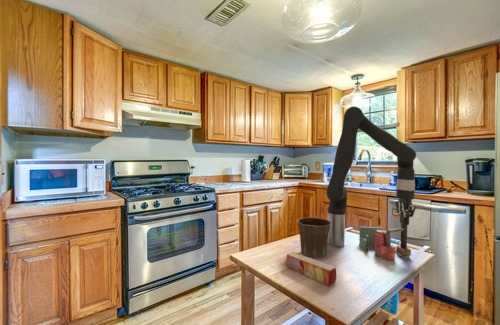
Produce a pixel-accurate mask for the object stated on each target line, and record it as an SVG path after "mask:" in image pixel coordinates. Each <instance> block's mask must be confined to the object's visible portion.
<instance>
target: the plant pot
mask: <svg viewBox="0 0 500 325" xmlns="http://www.w3.org/2000/svg"><path fill="white" fill-rule="evenodd" d="M296 221H297V225H298V230H299V242H300V243H299V244H300V251H301V255H303V256H305V257H308V258H311V259H313V258H316V259H321V258H324V257H326V256H327V252H328V244H327V242H328V233H329V229H330V225H331V222H330V221H328V220H327V219H323V218H320V217H319V218H318V217H301V218H298V219H297V220H296Z"/></svg>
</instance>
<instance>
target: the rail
mask: <svg viewBox="0 0 500 325" xmlns="http://www.w3.org/2000/svg"><path fill="white" fill-rule="evenodd" d="M391 246H394V247H395V254H397V255H398V256H399V257H401V258H402V259H410V258H411V257H410V256H403V255H401V254H399V253H398V252H397V251H396V248H397V246H396V245H394V244H391Z"/></svg>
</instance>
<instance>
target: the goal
mask: <svg viewBox="0 0 500 325" xmlns="http://www.w3.org/2000/svg"><path fill="white" fill-rule="evenodd" d="M378 229H381V230H384V228H383V227H379V226H378V227H374V226H359V236H358V238H359V239H358V240H359V241H358V242H359V243H358V244H359V246H360V247H362V249H363V250H364V251H366V252H369V247H371V246H372V247H374V240H375V233H376V230H378Z"/></svg>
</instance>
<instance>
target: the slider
mask: <svg viewBox="0 0 500 325" xmlns="http://www.w3.org/2000/svg"><path fill="white" fill-rule="evenodd" d="M406 213H407V212H406ZM403 222H404V212H403V211H402V213H401V223H400V227H397V228H396V227H395V228H391V229H386V230H387V231H386V245H380V256H379V259H381V260H385V261H386V260H388V261H395V260H396V253H395V247H397V248H396V251H397V252H398V253H399V254H401V255H403V256H411V257H412V253H411V252H412V250H411V249H410V248H409V247H408V225H404V224H403ZM396 232H400V245H399V244H398V245H396V246H395V245H394V246H395V247H394V246H390V235H391V233H396Z"/></svg>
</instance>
